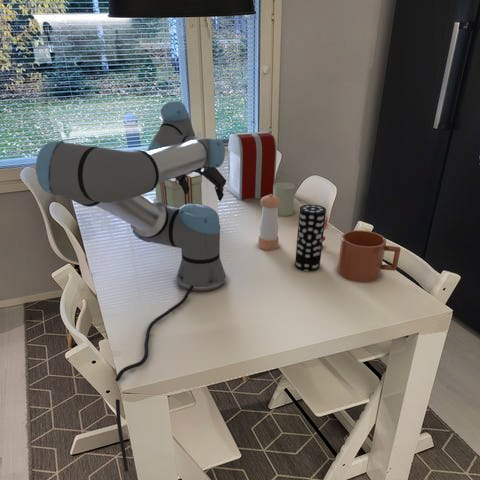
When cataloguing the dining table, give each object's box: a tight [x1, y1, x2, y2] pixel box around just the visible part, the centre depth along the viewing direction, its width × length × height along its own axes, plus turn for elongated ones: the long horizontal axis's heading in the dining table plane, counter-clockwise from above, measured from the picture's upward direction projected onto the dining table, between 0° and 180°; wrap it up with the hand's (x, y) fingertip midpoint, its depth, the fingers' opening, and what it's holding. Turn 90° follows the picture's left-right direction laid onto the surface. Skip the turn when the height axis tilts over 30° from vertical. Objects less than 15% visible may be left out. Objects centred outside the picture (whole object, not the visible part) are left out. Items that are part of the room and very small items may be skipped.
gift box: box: [154, 172, 203, 208], centre depth 203 cm, size 17×18×17 cm
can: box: [273, 181, 296, 217], centre depth 204 cm, size 9×9×12 cm
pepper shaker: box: [257, 194, 281, 251], centre depth 172 cm, size 7×7×19 cm
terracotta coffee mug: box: [336, 229, 402, 283], centre depth 156 cm, size 19×14×12 cm
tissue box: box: [227, 131, 278, 201], centre depth 222 cm, size 16×18×27 cm
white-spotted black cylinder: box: [294, 203, 327, 273], centre depth 158 cm, size 8×8×20 cm
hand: (204, 194), depth 170 cm, fingers open, 13 cm apart
